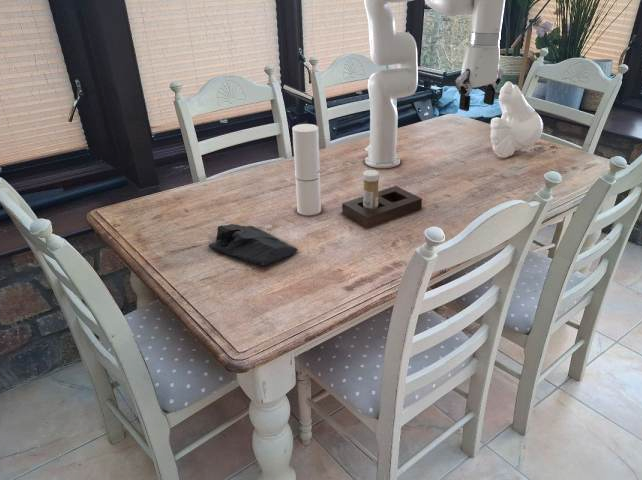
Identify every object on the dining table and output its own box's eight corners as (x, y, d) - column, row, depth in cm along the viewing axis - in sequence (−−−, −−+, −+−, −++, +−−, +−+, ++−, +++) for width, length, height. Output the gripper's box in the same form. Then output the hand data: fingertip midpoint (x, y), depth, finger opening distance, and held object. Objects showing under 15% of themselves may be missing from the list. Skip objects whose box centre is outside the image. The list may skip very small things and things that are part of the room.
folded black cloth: (259, 275, 132) (257, 259, 129) (204, 247, 144) (201, 231, 141) (303, 252, 142) (302, 236, 139) (248, 226, 154) (246, 211, 151)
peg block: (342, 213, 161) (342, 203, 159) (395, 196, 171) (395, 185, 169) (367, 228, 153) (367, 217, 151) (421, 209, 163) (422, 198, 161)
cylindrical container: (324, 207, 164) (322, 125, 150) (315, 216, 159) (312, 133, 145) (303, 203, 166) (298, 122, 152) (293, 213, 161) (288, 130, 147)
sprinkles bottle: (381, 216, 159) (382, 173, 152) (368, 220, 157) (369, 176, 149) (372, 210, 162) (373, 168, 155) (359, 214, 160) (360, 171, 153)
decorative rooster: (521, 121, 214) (495, 73, 198) (555, 123, 201) (530, 73, 186) (486, 170, 211) (457, 125, 196) (518, 175, 199) (489, 128, 183)
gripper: (495, 34, 145) (487, 99, 155) (450, 41, 137) (444, 109, 146) (518, 38, 140) (507, 104, 150) (472, 45, 132) (464, 115, 141)
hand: (476, 107), depth 148 cm, fingers open, 9 cm apart
